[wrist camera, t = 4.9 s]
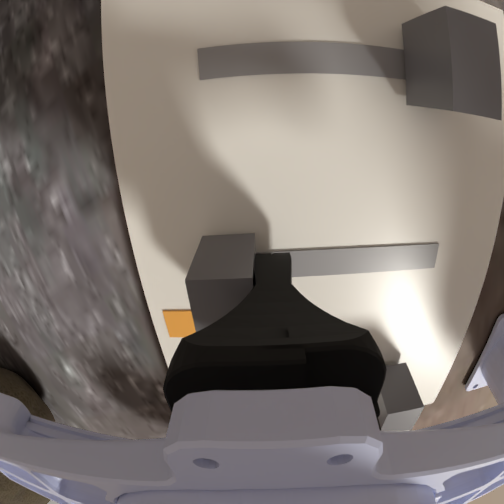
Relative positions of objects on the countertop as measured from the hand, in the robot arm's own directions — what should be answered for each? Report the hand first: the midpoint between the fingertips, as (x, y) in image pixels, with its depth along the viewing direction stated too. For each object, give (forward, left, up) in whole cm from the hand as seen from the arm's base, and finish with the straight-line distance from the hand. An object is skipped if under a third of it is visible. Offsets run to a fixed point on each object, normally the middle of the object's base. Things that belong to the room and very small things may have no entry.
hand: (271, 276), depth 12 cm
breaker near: (-6, -8, -1) cm, 10 cm away
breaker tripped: (+2, 0, -1) cm, 2 cm away
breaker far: (-6, +8, -1) cm, 10 cm away
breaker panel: (-3, 0, -3) cm, 4 cm away
